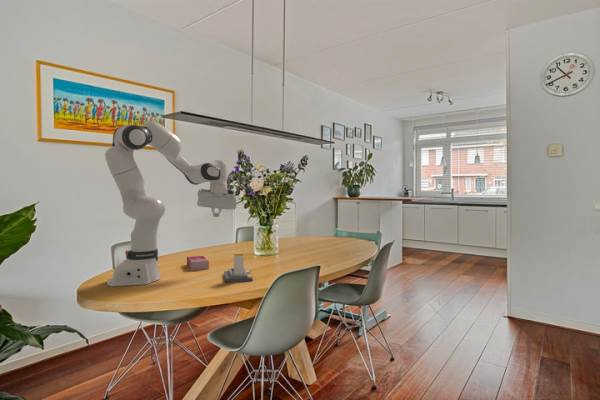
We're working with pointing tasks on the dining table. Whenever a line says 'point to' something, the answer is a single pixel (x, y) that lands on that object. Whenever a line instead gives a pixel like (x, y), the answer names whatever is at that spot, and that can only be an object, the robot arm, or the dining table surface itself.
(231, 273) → the switch bank
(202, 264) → the maroon box
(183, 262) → the dining table surface
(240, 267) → the tab
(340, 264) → the dining table surface
